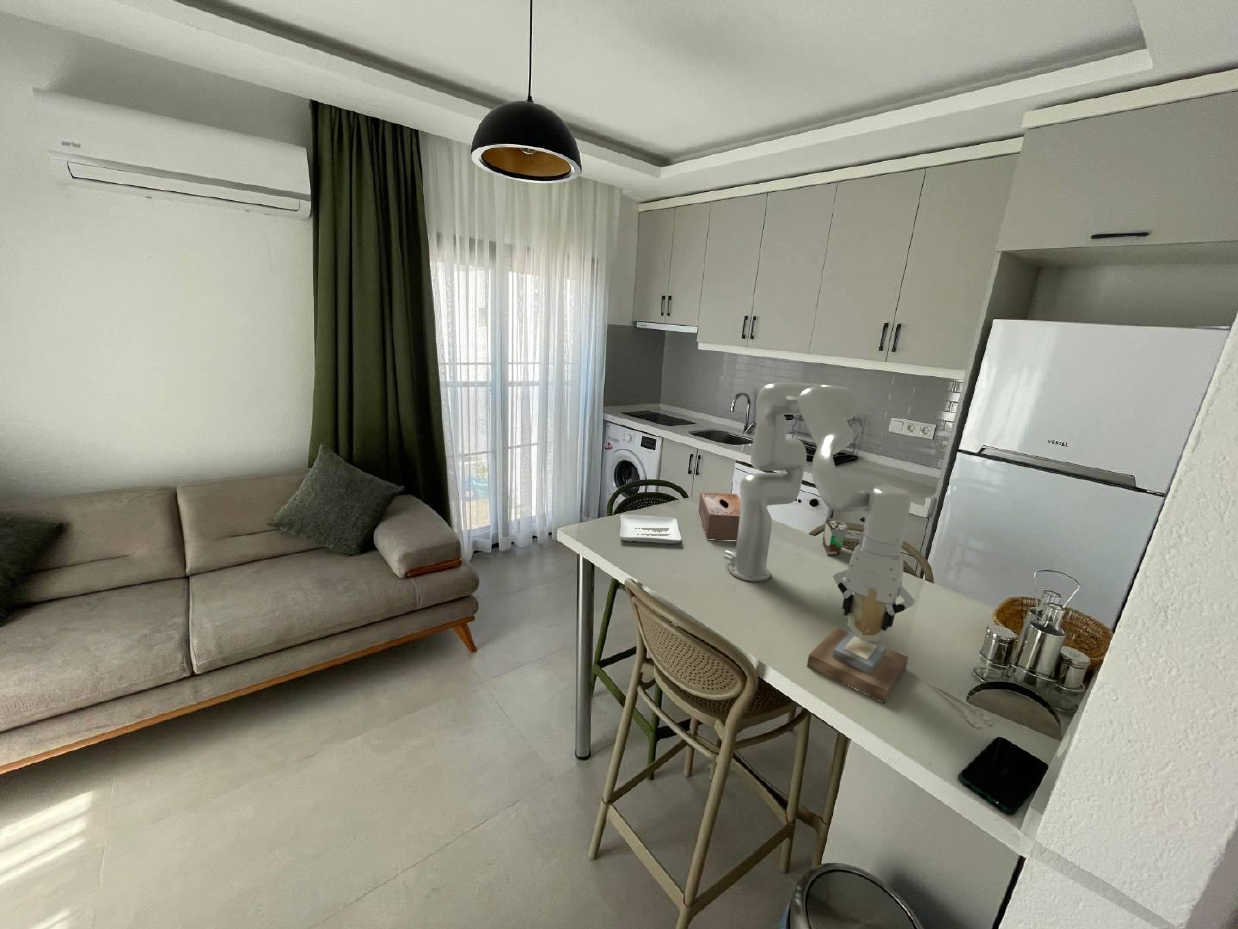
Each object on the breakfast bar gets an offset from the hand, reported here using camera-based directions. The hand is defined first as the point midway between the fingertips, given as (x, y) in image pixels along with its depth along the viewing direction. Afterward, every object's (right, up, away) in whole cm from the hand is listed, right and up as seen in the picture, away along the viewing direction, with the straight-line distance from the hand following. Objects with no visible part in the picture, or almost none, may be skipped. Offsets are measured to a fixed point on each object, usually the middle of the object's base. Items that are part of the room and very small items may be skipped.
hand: (866, 620), depth 110 cm
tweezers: (+14, -15, -4) cm, 21 cm away
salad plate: (-43, +8, +72) cm, 84 cm away
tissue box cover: (-15, +9, +82) cm, 84 cm away
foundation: (-1, -11, +3) cm, 12 cm away
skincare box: (0, -3, +1) cm, 4 cm away
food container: (+21, +3, +66) cm, 69 cm away
